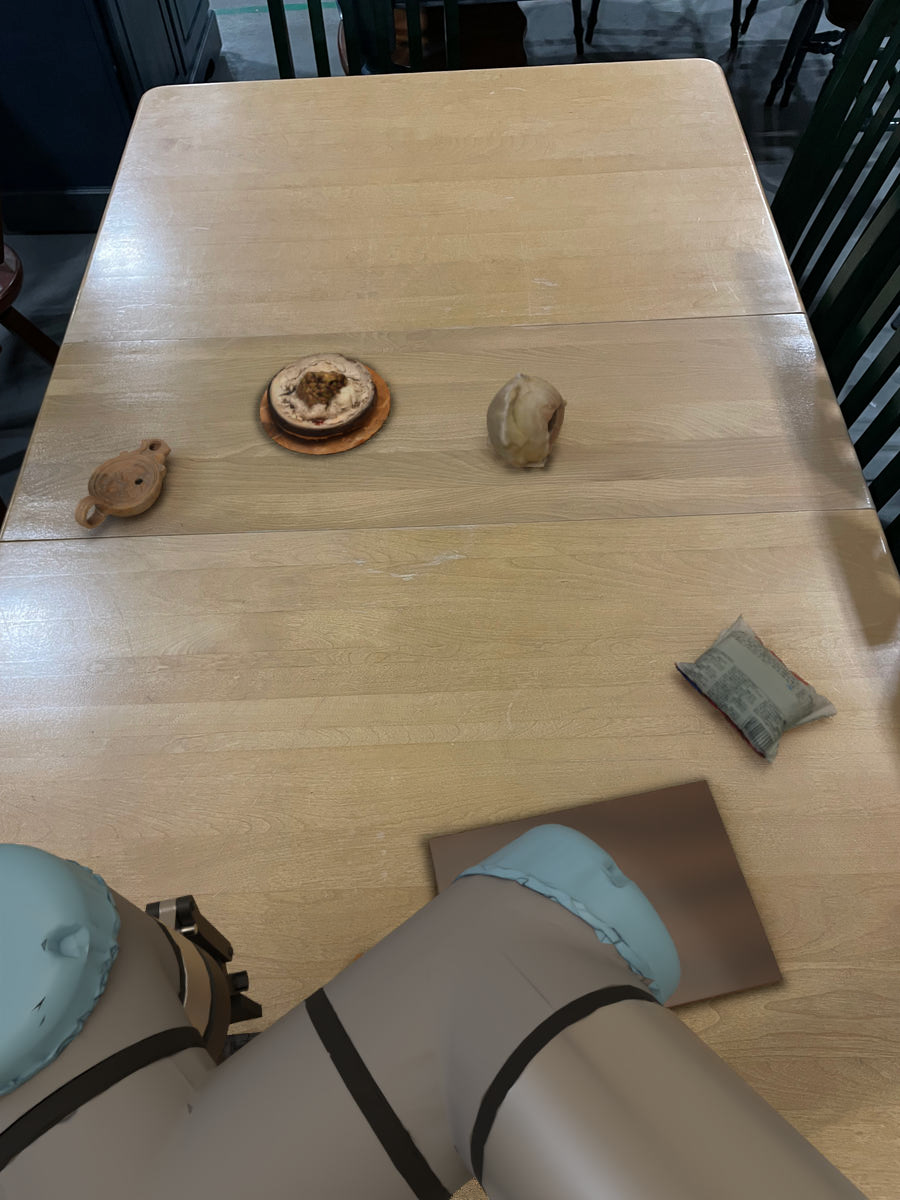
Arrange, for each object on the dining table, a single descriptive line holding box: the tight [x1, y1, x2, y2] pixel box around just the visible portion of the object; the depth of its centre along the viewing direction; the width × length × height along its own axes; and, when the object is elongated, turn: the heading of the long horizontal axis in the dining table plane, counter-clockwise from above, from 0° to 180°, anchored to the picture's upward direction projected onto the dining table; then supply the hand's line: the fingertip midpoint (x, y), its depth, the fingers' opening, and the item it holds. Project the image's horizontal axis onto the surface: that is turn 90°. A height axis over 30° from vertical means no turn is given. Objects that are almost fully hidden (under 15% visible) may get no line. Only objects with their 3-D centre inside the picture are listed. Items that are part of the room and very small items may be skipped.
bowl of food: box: [259, 352, 391, 456], centre depth 96 cm, size 15×15×4 cm
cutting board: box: [427, 779, 784, 1010], centre depth 67 cm, size 16×24×1 cm, turn 102°
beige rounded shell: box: [486, 372, 568, 468], centre depth 90 cm, size 9×8×10 cm
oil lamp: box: [74, 438, 172, 530], centre depth 89 cm, size 13×8×5 cm, turn 150°
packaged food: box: [674, 613, 838, 765], centre depth 75 cm, size 9×12×5 cm
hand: (245, 1050), depth 58 cm, fingers closed on knife, 4 cm apart
